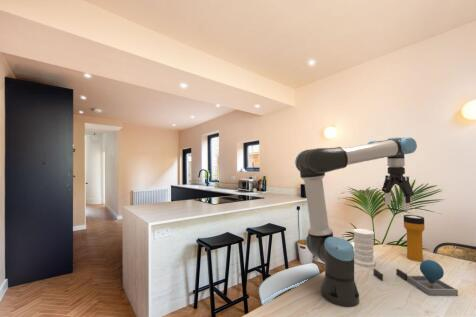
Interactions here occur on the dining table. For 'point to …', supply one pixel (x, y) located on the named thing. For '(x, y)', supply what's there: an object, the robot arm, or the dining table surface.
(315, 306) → the dining table surface
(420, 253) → the flashlight
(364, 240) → the decorative container
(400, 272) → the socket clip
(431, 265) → the light bulb
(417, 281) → the parts tray
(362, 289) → the dining table surface
